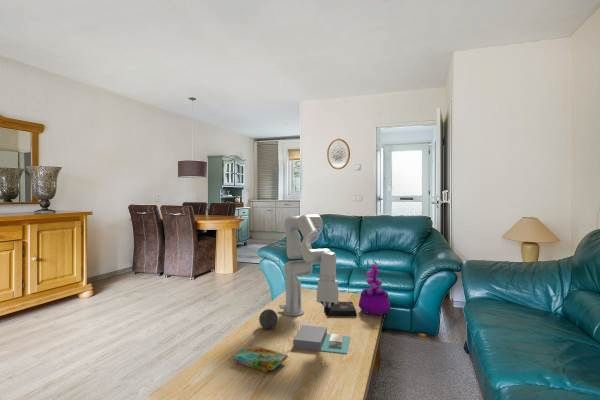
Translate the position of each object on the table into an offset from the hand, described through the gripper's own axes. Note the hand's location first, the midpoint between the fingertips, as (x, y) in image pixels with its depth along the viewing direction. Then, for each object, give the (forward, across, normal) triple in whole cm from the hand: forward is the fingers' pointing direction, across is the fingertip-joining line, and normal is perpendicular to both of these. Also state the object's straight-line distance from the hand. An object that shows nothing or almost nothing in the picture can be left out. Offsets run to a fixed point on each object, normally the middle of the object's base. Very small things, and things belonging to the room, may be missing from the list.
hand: (327, 314), depth 160 cm
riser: (+14, -8, -1) cm, 16 cm away
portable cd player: (+15, +2, +44) cm, 47 cm away
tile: (+11, +5, -1) cm, 12 cm away
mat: (+13, +5, -1) cm, 14 cm away
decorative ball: (+15, -33, +9) cm, 38 cm away
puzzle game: (+14, -24, -27) cm, 39 cm away
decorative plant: (+15, +22, +47) cm, 54 cm away
